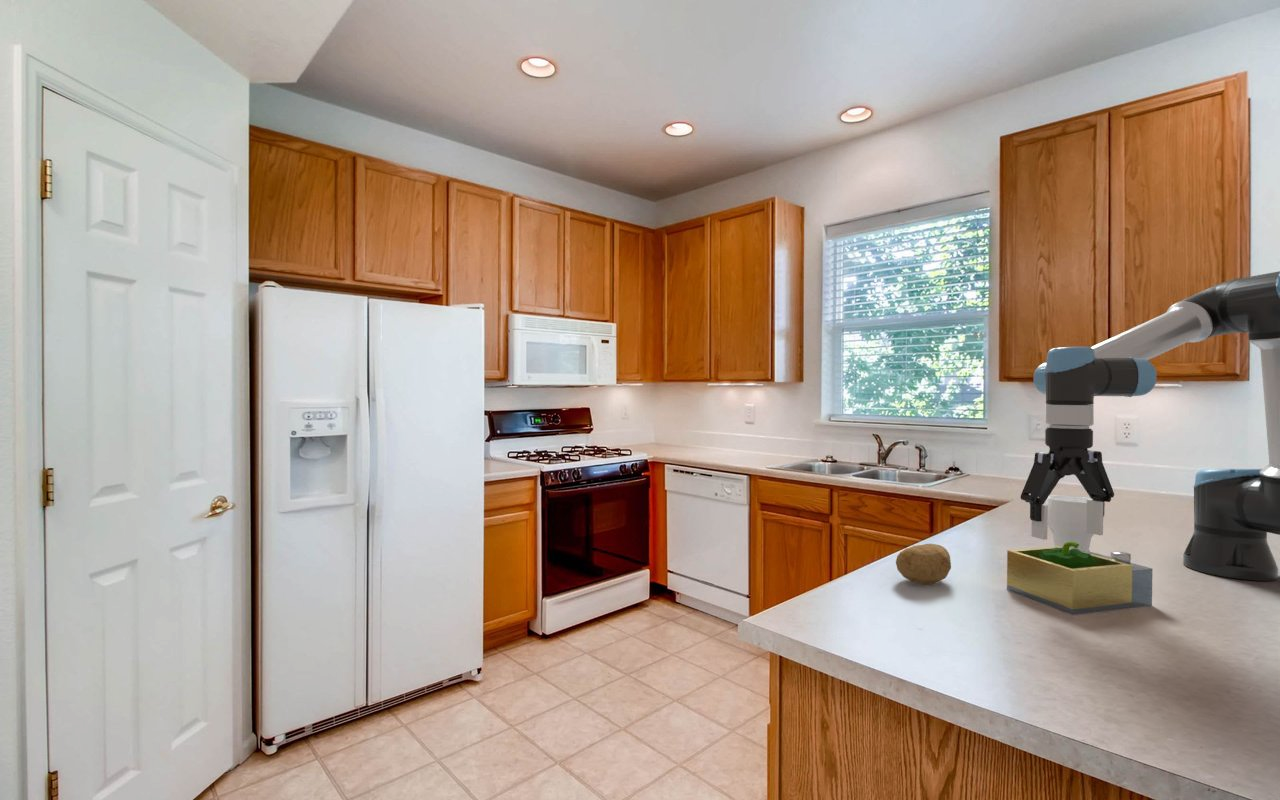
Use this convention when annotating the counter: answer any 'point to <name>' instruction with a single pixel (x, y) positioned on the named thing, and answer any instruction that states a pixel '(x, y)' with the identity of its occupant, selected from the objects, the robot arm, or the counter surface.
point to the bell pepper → (1068, 556)
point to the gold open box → (1080, 582)
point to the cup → (1069, 520)
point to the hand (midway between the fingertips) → (1067, 535)
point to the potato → (924, 563)
